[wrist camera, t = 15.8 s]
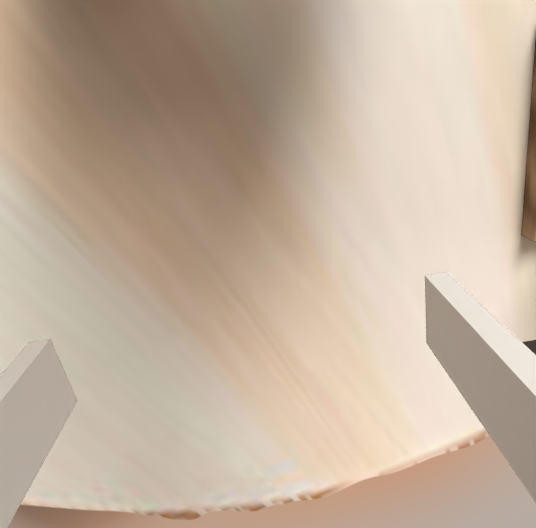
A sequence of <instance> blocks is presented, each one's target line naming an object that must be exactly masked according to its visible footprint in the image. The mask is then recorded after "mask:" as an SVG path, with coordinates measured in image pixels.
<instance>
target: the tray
mask: <svg viewBox="0 0 536 528" xmlns="http://www.w3.org/2000/svg"><path fill="white" fill-rule="evenodd" d="M521 235H523V236H524V237H526V238H528V239H530V240H532V241H534V242H536V43H535V57H534V70H533V84H532V98H531V111H530V125H529V139H528V152H527V166H526V179H525V193H524V207H523V220H522V234H521Z"/></svg>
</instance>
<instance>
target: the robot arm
mask: <svg viewBox="0 0 536 528" xmlns="http://www.w3.org/2000/svg"><path fill="white" fill-rule="evenodd" d="M425 302H426V343H427V345H428V346H429V347H430V349H431V350H432V352H433V353H434V355H435V356H436V358H437V359H438V361H439V362H440V364H441V365H442V366H443V368H444V369H445V371H446V372H447V374H448V375H449V377H450V378H451V380H452V381H453V383H454V384H455V385H456V387H457V388H458V390H459V391H460V393H461V394H462V396H463V397H464V399H465V400H466V402H467V403H468V404H469V406H470V407H471V409H472V410H473V412H474V413H475V415H476V416H477V418H478V419H479V421H480V422H481V423H482V425H483V426H484V428H485V429H486V431H487V432H488V434H489V435H490V437H491V438H492V440H493V441H494V442H495V444H496V445H497V447H498V448H499V450H500V451H501V453H502V454H503V456H504V457H505V459H506V460H507V461H508V463H509V464H510V466H511V467H512V469H513V470H514V471H515V473H516V475H517V476H518V478H519V479H520V480H521V482H522V483H523V485H524V486H525V488H526V489H527V491H528V492H529V494H530V495H531V497H532V498H533V499H534V501H535V502H536V340H533V341H527V342H521V341H520V340H519V339H518V338H517V337H516V336H515V335H514V334H513V333H512V332H511V331H510V330H509V329H508V328H506V327H505V326H504V325H503V324H502V323H501V322H500V321H499V320H498V319H497V318H496V317H495V316H494V315H493V314H492V313H491V312H490V311H488V310H487V309H486V308H485V307H484V306H483V305H482V304H481V303H480V302H479V301H478V300H477V299H476V298H475V297H474V296H473V295H471V294H470V293H469V292H468V291H467V290H466V289H465V288H464V287H463V286H462V285H461V284H460V283H459V282H458V281H457V280H456V279H455V278H453V277H452V276H451V275H450V274H449V273H448V272H443V273H437V274H431V275H425ZM76 402H77V398H76V396H75V393H74V391H73V389H72V387H71V384H70V382H69V380H68V378H67V375H66V373H65V371H64V369H63V366H62V364H61V362H60V360H59V358H58V355H57V353H56V351H55V349H54V346H53V344H52V342H51V340H50V339H47V340H41V341H35V342H29V343H28V344H27V345H26V347H25V348H24V349H23V350H22V351H21V352H20V354H19V355H18V356H17V357H16V358H15V359H14V360H13V362H12V363H11V364H10V365H9V366H8V367H7V369H6V370H5V371H4V372H3V373H2V374H1V376H0V528H7V527H8V526H9V524H10V522H11V520H12V518H13V517H14V515H15V513H16V511H17V509H18V507H19V506H20V504H21V502H22V500H23V498H24V497H25V495H26V493H27V491H28V489H29V488H30V486H31V484H32V482H33V480H34V478H35V477H36V475H37V473H38V471H39V469H40V468H41V466H42V464H43V462H44V460H45V458H46V457H47V455H48V453H49V451H50V449H51V448H52V446H53V444H54V442H55V440H56V439H57V437H58V435H59V433H60V431H61V429H62V428H63V426H64V424H65V422H66V420H67V419H68V417H69V415H70V413H71V411H72V410H73V408H74V406H75V404H76Z"/></svg>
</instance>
